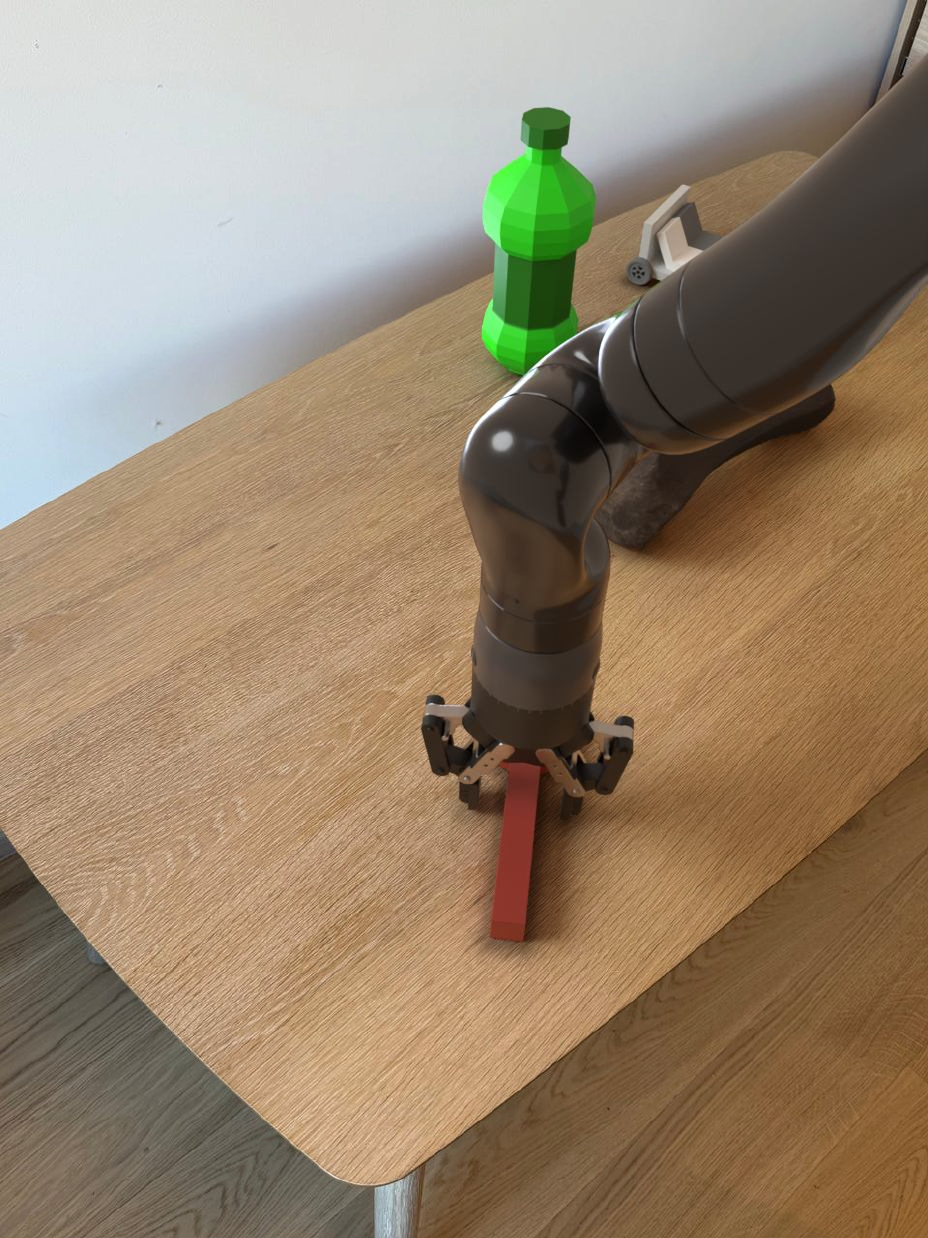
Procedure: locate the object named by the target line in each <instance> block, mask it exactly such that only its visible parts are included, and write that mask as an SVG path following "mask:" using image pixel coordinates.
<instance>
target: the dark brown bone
mask: <svg viewBox="0 0 928 1238" xmlns="http://www.w3.org/2000/svg"><path fill="white" fill-rule="evenodd" d="M836 400H837V397H836V394H835V389H834V387H833V385H832V383H831V384H829V385H828V386H826V387H825V388H823V389H821V390H820V391H818V392H816V393H815V394H813V395H811V396H809V397H808V398H806V399H804V400H803V401H801V402H799V403H797V404H795V405H794V406H792V407H790V408H788V409H786V410H784V411H782V412H780V413H778V414H776V415H774V416H772V417H770V418H768V419H766V420H764V421H762V422H760V423H758V424H756V425H754V426H752V427H750V428H748V429H746V430H744V431H742V432H741V433H739V434H736V435H734V436H732V437H730V438H728V439H726V440H724V441H722V442H720V443H718V444H715V445H713V446H711V447H708V448H706V449H703V450H700V451H696V452H693V453H689V454H683V455H666V454H661V453H657V452H654V451H653V452H652V453H650V454H649V455H647V456H646V457H645V458H644V459H642V460H641V461H640V462H639V463H638V464H636V465H635V466H634V467H633V469H632V470H631V471H630V472H629V473H628V474H627V476H626V477H625V478H624V479H623V480H622V481H621V483H620V484H619V485H618V486H617V487H616V489H615V490H614V491H613V492H612V494H611V495H610V496H609V497H608V498H607V500H606V501H605V502H604V503H603V504H602V506H601V507H600V508H599V509H598V510H597V512H596V513H595V515H594V517H595V518H596V519H597V521H598V522H599V523H600V525H601V526H602V527H603V529H604V531H605V533H606V536H607V538H608V541H610V542H612V543H614V544H616V545H618V546H620V547H622V548H624V549H626V550H627V549H628V550H630V551H643V550H644V549H645V548H647V546H648V545H649V543H650V542H651V541H652V540H653V539H655V537H656V536H657V535H658V534H659V533H660V532H661V531H662V530H663V529H664V528H665V527H666V526H667V525H668V524H670V522H671V521H672V520H673V519H675V517H676V516H678V514H679V513H680V512H681V511H682V510H683V509H684V507H685V506H686V505H687V503H689V501H690V500H691V499H692V497H693V496H694V495H695V493H696V492H697V490H698V489H699V488H700V487H701V486H702V484H703V483H704V481H705V480H706V479H707V478H708V477H709V476H710V475H711V474H712V473H713V472H714V471H716V470H717V469H718V468H720V467H722V466H723V465H724V464H726V463H727V462H729V461H731V460H732V459H734V458H736V457H738V456H739V455H742V454H743V453H745V452H747V451H748V450H751V449H753V448H755V447H758V446H760V445H761V446H762V444H765V443H767V442H770V441H774V440H777V439H780V438H783V437H788V436H791V435H795V434H800V433H803V432H807V431H810V430H812V429H814V428H816V427H817V426H818V425H820V424H822V423H823V422H824V421H825V420H826V419H827V418H828V417H829V416H830V415H831V414H832V413H833V411H834V410H835V405H836V404H835V403H836Z"/></svg>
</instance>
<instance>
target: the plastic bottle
mask: <svg viewBox="0 0 928 1238" xmlns="http://www.w3.org/2000/svg"><path fill="white" fill-rule="evenodd" d="M521 117H522V118H521V126H520V131H521V132H520V141H521V143H523V144H524V145H525V153H524V154H522V155H521V156H519V157H517V158H515V159H514V160H512V161H510V162H509V163H507V164H506V165H505V166H504V167H503V168H501V169H500V170H498V171H497V172H496V173H495V174H492V176H491V178H490V179H491V180H490V181H489V183H488V186H487V189H486V192H485V196H484V200H483V204H482V224H483V228H484V233H485V234H486V235H487V236H488V237H489V238H491V240H493V242H494V264H493V265H494V266H493V286H492V299H491V300H490V302H489V304H488V306H487V308H486V310H485V313H484V318H483V322H482V327H481V340H482V342H483V344H484V347H485V348H486V349H487V351H488V352H489V353H490V354H491V356H493V357H494V359H496V361H497V362H498V363H499V364H500V365H501V366H502V367H504V368H506V369H507V370H508V371H509V372H512V373H515V374H516V375H517V374H518V375H520V376H524V375H525V374H526V373H527V372H528V371H529V370H530V369H531V368H532V367H533V366H535V365H536V364H537V363H538V362H539V361H540V360H541V359H543V358H544V357H545V356H546V355H548V354H549V353H550V352H552V351H553V350H554V349H556V348H557V347H558V346H560V345H561V344H563V343H564V342H566V341H567V340H568V339H570V338H572V337H573V336H575V335H576V334H578V327H579V317H578V314H577V311H576V309H575V307H574V305H573V303H572V299H573V290H574V289H573V288H574V280H575V271H576V270H575V269H576V260H577V251H578V249H580V248H581V247H582V246H584V245H585V244H586V243H588V242H589V239H590V237H591V234H592V231H593V226H594V218H595V211H596V203H597V195H596V192H595V188H594V185H593V183H591V181H589V180H588V178H587V177H586V176H584V174H582V173H581V171H580V170H579V169H578V168H577V167H576V166H574V165H573V164H572V163H571V162H570V161H569V160H567V159H566V158H565V157H564V156H562V150H563V147H565V146H568V143H569V140H570V130H571V129H570V128H571V118H572V117H571V116H570V115H569V114H568V113H566V112H565V111H564V110H562V109H558V108H554V107H549V106H547V107H544V106H543V107H533V108H531V109H528V110H526V111H524V112H523V114H522V116H521Z"/></svg>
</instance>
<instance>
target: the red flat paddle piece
mask: <svg viewBox="0 0 928 1238" xmlns="http://www.w3.org/2000/svg"><path fill="white" fill-rule="evenodd" d="M498 766H499V767H501V768H503V769H504V770H506V771H508V773H507V775H508V776H507V782H506V790H505V799H504V807H503V815H502V826H501V833H500V834H501V835H500V841H499V851H498V858H497V868H496V875H495V883H494V891H493V893H494V894H493V900H492V910H491V918H490V927H489V928H490V929H489V938H491V939H497V940H507V941H513V942H521V943H522V942H524V938H525V932H526V923H527V912H528V901H529V892H530V880H531V872H532V861H533V852H534V851H533V850H534V839H535V828H536V821H537V820H536V819H537V809H538V808H537V807H538V798H539V786H540V778H541V775H543V774H546V773H550V772H549V771H548V769H547V768H546V767H541V766H534V765H531V764H527V763H507V762H501V763H500V764H499V765H498Z"/></svg>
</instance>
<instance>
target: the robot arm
mask: <svg viewBox="0 0 928 1238" xmlns="http://www.w3.org/2000/svg"><path fill="white" fill-rule="evenodd" d="M722 237H723V238H721V239H720V240H718V241H717V242H715V243H714V244H713V245H711V246H710V247H708V248H707V249H706V250H704V251H703V252H701V253H700V254H698V255H697V256H696V257H694V258H693V259H691V260H690V261H688V262H687V263H686V264H684V265H683V266H681V267H680V268H679V269H677V270H676V271H674V272H673V273H672V274H670V275H669V276H667V277H666V278H665V279H663V280H662V281H661V280H659V281H658V282H657V283H656V284H655V285H654V286H652V287H651V288H649V289H648V290H646V291H645V292H644V293H643V294H642V295H640V296H639V297H638V298H636V299H634V301H633V302H631V303H630V304H629V305H628V306H627V307H626V308H624V310H622V311H619V312H617V313H615V314H612V315H610V316H608V317H606V318H605V319H602V320H600V321H598V322H596V323H594V324H592V325H590V326H588V327H587V328H585V329H583V330H581V331H579V332H577V334H576V335H575V336H573V337H572V338H570V339H568V340H567V341H566V342H564V343H563V344H561V345H560V346H558V347H557V348H556V349H554V350H553V351H552V352H550V353H549V354H548V355H546V356H545V357H544V358H543V359H541V360H540V361H539V362H538V363H537V364H536V365H535V366H533V367H532V368H531V369H530V370H529V371H528V372H527V373H526V374H525V375H522V377H521V378H520V379H519V380H518V381H517V382H516V383H515V384H514V385H513V386H511V388H510V389H509V390H508V391H507V392H506V393H505V394H504V395H503V396H502V397H501V398H500V399H499V400H498V401H497V402H495V403H494V404H493V405H492V406H491V407H490V408H489V409H488V410H487V411H486V412H485V413H484V414H483V415H482V416H481V417H480V418H479V419H478V420H477V421H476V422H475V424H474V426H473V427H472V429H471V430H470V431H469V434H468V436H467V438H466V439H465V443H464V445H463V448H462V452H461V455H460V460H459V465H458V472H457V485H458V487H457V488H458V494H459V498H460V501H461V505H462V508H463V511H464V513H465V517H466V520H467V522H468V525H469V528H470V532H471V535H472V540H473V542H474V545H475V547H476V550H477V552H478V555H479V558H480V560H481V562H480V563H481V564H480V584H479V603H478V608H477V612H476V617H475V620H474V626H473V640H472V645H471V648H470V657H471V661H472V663H471V687H470V697H469V698H468V699H467V700H466V701H465V703H464V705H463V704H461V705H460V704H458V705H457V704H446V701H445V697H444V696H441V695H439V694H429V695H428V696H426V698H425V704H424V709H423V714H422V720H421V727H420V731H421V734H422V738H423V742H424V746H425V750H426V754H427V757H428V758H427V759H428V761H429V765H430V769H431V772H432V774H434V775H435V776H439V777H446V776H449V774H453V775H454V776H456V777H457V780H458V800H460V802H461V803H465V804H467V810H468V811H475V812H478V810H479V804H480V798H481V789H482V776H483V775H484V774H485V775H486V776H488V775H490V774H491V773H492V772H493V771H494V770H495V769H496V768H497V767H498V766H500V765H499V764H500V763H501V762H507V763H527V764H531V765H534V766H541V767H546V768H547V769H548V771H549V772H548V773H549V774H550V775H551V777H552V778H553V780H554V781H555V783H556V784H561V785H562V791H561V797H560V810H559V811H560V812H559V821H560V822H569V823H570V820H571V816H574V817H577V816H579V815H580V814H581V813H582V808H583V805H584V798H585V795H586V793H588V792H589V791H595V793H596V794H598V795H601V796H609V795H611V794H613V792H614V791H615V789H616V787H617V785H618V784H619V782H620V779H621V778H622V776H623V774H624V772H625V770H626V768H627V766H628V764H629V762H630V760H631V758H632V757H633V755H634V741H635V740H634V739H635V719H634V718H633V717H631V716H628V715H621V716H617V717H616V719H615V720H614V722H613V723H609V722H604V721H601V720H596V718H595V715H594V714H593V712H592V711H591V708H592V703H593V699H594V698H593V697H594V692H595V686H596V682H597V681H596V680H597V677H598V675H599V671H600V667H601V664H602V663H601V653H602V646H603V636H604V632H603V630H604V626H603V616H604V611H605V605H606V598H607V593H608V587H609V581H610V575H611V558H612V557H611V556H612V555H611V553H612V551H611V547H610V543H609V539H608V538H607V536H606V533H605V531H604V529H603V527H602V526H601V525H600V523H599V522H598V521H597V519H596V518H595V517H594V515H595V513H596V512H597V510H598V509H599V508H600V507H601V506H602V504H603V503H604V502H605V501H606V500H607V498H608V497H609V496H610V495H611V494H612V492H613V491H614V490H615V489H616V487H617V486H618V485H619V484H620V483H621V481H622V480H623V479H624V478H625V477H626V476H627V474H628V473H629V472H630V471H631V470H632V469H633V467H634V466H635V465H636V464H638V463H639V462H640V461H641V460H642V459H644V458H645V457H646V456H647V455H649V454H650V453H652V452H653V451H654V452H657V453H661V454H666V455H683V454H689V453H693V452H696V451H700V450H703V449H706V448H708V447H711V446H713V445H715V444H718V443H720V442H722V441H724V440H726V439H728V438H730V437H732V436H734V435H736V434H739V433H741V432H742V431H744V430H746V429H748V428H750V427H752V426H754V425H756V424H758V423H760V422H762V421H764V420H766V419H768V418H770V417H772V416H774V415H776V414H778V413H780V412H782V411H784V410H786V409H788V408H790V407H792V406H794V405H795V404H797V403H799V402H801V401H803V400H804V399H806V398H808V397H809V396H811V395H813V394H815V393H816V392H818V391H820V390H821V389H823V388H825V387H826V386H828V385H829V384H831V385H832V384H833V383H834V382H835V381H837V380H839V379H840V378H841V377H843V376H844V375H846V373H848V372H849V371H850V370H851V369H853V368H854V367H855V366H857V364H859V363H860V362H861V361H862V360H863V359H864V358H865V357H867V356H868V354H869V353H871V351H872V350H873V349H874V348H876V346H877V345H878V344H879V343H880V342H881V340H883V338H884V337H885V336H886V335H887V334H888V333H889V331H890V330H891V329H892V328H893V326H894V325H895V324H896V323H897V322H898V320H899V319H900V318H901V317H902V316H903V314H904V313H905V311H906V310H907V309H908V308H909V307H910V306H911V304H912V303H913V301H914V300H915V299H916V298H917V296H918V295H919V294H920V293H921V292H922V291H923V289H925V287H926V286H928V52H926V53H925V54H924V55H923V56H922V57H921V58H920V59H919V60H918V61H917V62H916V63H915V64H914V65H913V66H912V67H911V68H910V69H909V70H908V71H907V72H906V73H905V74H904V75H903V76H902V77H901V78H900V79H899V80H898V81H897V82H896V83H895V84H894V85H893V86H892V87H891V88H890V89H889V90H888V91H887V92H886V93H884V95H883V96H882V97H881V98H880V99H879V100H878V101H877V102H875V104H874V105H873V106H872V107H871V108H869V110H868V111H866V113H865V114H864V115H863V116H862V117H861V118H860V119H859V120H858V121H857V122H856V123H855V124H854V125H853V126H852V127H851V128H850V129H849V130H848V131H847V132H846V133H845V134H844V135H843V136H842V137H840V138H839V139H838V141H837V142H835V143H834V144H833V146H831V147H830V148H829V149H828V150H827V151H826V152H825V153H824V154H823V155H822V156H821V157H819V158H818V159H817V161H815V162H814V163H813V164H812V165H811V166H810V167H809V168H807V169H806V170H805V171H804V172H803V173H802V174H801V175H800V176H798V177H797V178H796V179H795V180H794V181H793V182H792V183H791V184H789V185H788V186H787V187H786V188H784V189H783V190H782V191H781V192H780V193H779V194H777V195H776V196H775V197H774V198H772V199H771V200H770V201H769V202H768V203H767V204H765V205H764V206H763V207H761V208H760V209H759V210H757V211H756V212H754V213H753V214H752V215H751V216H749V217H748V218H747V219H746V220H745V221H743V222H741V223H740V224H739V225H737V227H735V228H734V229H733V230H731V231H729V232H728V233H727V234H725V235H724V236H722ZM460 726H462V727H463V729H464V730H465V732H467V733H468V734H469V735H470V736H471V738H470V739H469V741H468V742H466V743H465V745H464V746H463V747H460V746H457V745H455V740H454V736H453V735H454V734H455V733H456V729H457V728H458V727H460ZM593 741H594V742H595V743H597V744H598V746H597V747H598V748H597V749H598V750H599V753H598V756H597V757H596V761H593V762H588V761H587V760H586V758H585V756H584V754H583V753H582V751H581V750H582V749H583V748H585V747H587V746H589V745H590V744H591V743H592V742H593Z"/></svg>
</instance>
